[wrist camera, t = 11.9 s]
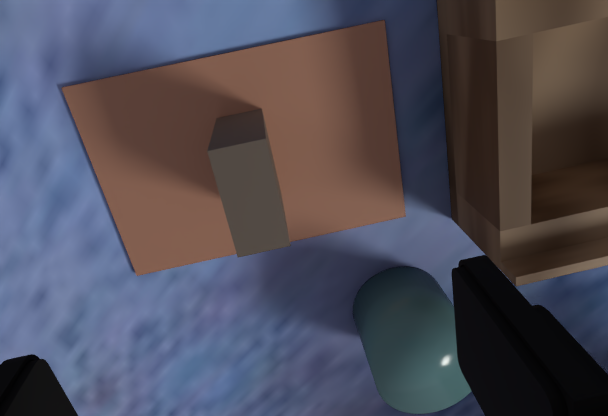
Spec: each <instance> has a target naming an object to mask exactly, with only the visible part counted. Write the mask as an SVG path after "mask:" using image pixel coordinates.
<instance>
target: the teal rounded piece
mask: <svg viewBox="0 0 608 416" xmlns="http://www.w3.org/2000/svg"><path fill="white" fill-rule="evenodd" d="M353 317H354V321H355V324H356V327H357V330H358V333H359V336H360V339H361V342H362V345H363V348H364V351H365V354H366V357H367V360H368V363H369V366H370V369H371V372H372V375H373V378H374V381H375V384H376V387H377V390H378V392H379V394H380V396H381V397H382V399H383V400H384V401H385V402H386V403H387V404H388V405H390V406H391V407H393V408H395V409H397V410H399V411H402V412H406V413H412V414H425V413H432V412H437V411H440V410H443V409H446V408H448V407H450V406H452V405H454V404H456V403H457V402H459V401H461V400H462V399H463V398H465V397H466V396H467V395H468V394H469V393H470V392H471V391H472V390H471V389H470V387H469V385H468V383H467V381H466V379H465V378H464V376H463V374H462V372H461V369H460V366H459V363H458V358H457V344H456V330H455V315H454V306H453V304H452V303H451V301H450V300H449V299H448V297H447V296H446V294H445V293H444V291H443V290H442V288H441V287H440V285H439V284H438V282H437V281H436V280H435V279H434V278H433V277H432V276H431V275H430V274H429V273H427V272H425V271H423V270H421V269H418V268H413V267H396V268H391V269H387V270H385V271H382V272H380V273H378V274H376V275H375V276H373V277H372V278H370V279H369V280H368V281H367V282H366V283H365V284H364V285H363V286H362V287H361V289H360V290H359V292H358V294H357V295H356V298H355V300H354V304H353Z"/></svg>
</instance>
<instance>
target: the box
mask: <svg viewBox="0 0 608 416" xmlns="http://www.w3.org/2000/svg"><path fill="white" fill-rule="evenodd" d="M437 11H438V25H439V40H440V54H441V69H442V83H443V98H444V113H445V127H446V142H447V156H448V171H449V185H450V200H451V215H452V220H453V221H454V222H455V223H456V224H457V225H458V226H459V227H460V228H461V229H462V230H463V231H464V232H465V233H466V234H467V235H468V236H469V238H470V239H471V240H472V241H473V242H474V243H475V244H476V245H477V246H478V247H479V248H480V249H481V250H482V251H483V252H484V253H485V254H486V255H487V256H488V257H489V258H490V260H491V261H492V262H493V263H494V264H495V265H496V266H497V267H498V268H499V269H500V270H501V271H502V272H503V273H504V274H505V275H506V276H507V277H508V278H509V280H510V281H511V282H512V283H513V284H514V285H515V286H520V285H524V284H528V283H533V282H537V281H541V280H546V279H550V278H554V277H558V276H563V275H567V274H571V273H576V272H580V271H584V270H589V269H593V268H597V267H602V266H606V265H608V0H437Z"/></svg>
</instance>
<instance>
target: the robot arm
mask: <svg viewBox="0 0 608 416" xmlns="http://www.w3.org/2000/svg"><path fill="white" fill-rule="evenodd" d="M452 285H453V300H454V315H455V330H456V344H457V358H458V363H459V366H460V369H461V372H462V374H463V376H464V378H465V379H466V381H467V383H468V385H469V387H470V389H471V390H472V392H473V394H474V396H475V398H476V400H477V401H478V403H479V405H480V407H481V409H482V410H483V412H484V414H485V416H608V374H607V373H606V372H605V371H604V370H603V369H602V368H601V367H600V366H599V365H598V364H597V363H596V361H595V360H594V359H593V358H592V357H591V356H590V355H589V354H588V353H587V352H586V351H585V350H584V349H583V347H582V346H581V345H580V344H579V343H578V342H577V341H576V340H575V339H574V338H573V337H572V336H571V335H570V334H569V332H568V331H567V330H566V329H565V328H564V327H563V326H562V325H561V324H560V323H559V322H558V321H557V320H556V319H555V317H554V316H553V315H552V314H551V313H550V312H549V311H548V310H547V309H546V308H544V307H543V306H541V305H535V306H532V305H531V304H530V303H529V302H528V301H527V300H526V299H525V298H524V297H523V295H522V294H521V293H520V292H519V291H518V290H517V289H516V288H515V286H514V285H513V284H512V283H511V282H510V281H509V280H508V279H507V277H506V276H505V275H504V274H503V273H502V272H501V271H500V270H499V269H498V267H497V266H496V265H495V264H494V263H493V262H492V261H491V260H490V258H489V257H487V256H486V255H482V256H478V257H473V258H468V259H464V260H460V261H459V267H458V268H453V269H452ZM0 416H78V415H77V413H76V411H75V410H74V408H73V406H72V404H71V403H70V401H69V399H68V397H67V396H66V394H65V392H64V390H63V389H62V387H61V385H60V384H59V382H58V380H57V378H56V377H55V375H54V373H53V371H52V370H51V368H50V366H49V364H48V363H47V362H46V360H44V359H39V358H38V357H37V356H36V355H26V356H22V357H17V358H13V359H8V360H6V361H4V362H3V363H2V364H1V365H0Z"/></svg>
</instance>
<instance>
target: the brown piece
mask: <svg viewBox="0 0 608 416" xmlns="http://www.w3.org/2000/svg"><path fill="white" fill-rule="evenodd" d="M62 91H63V93H64V96H65V98H66V101H67V103H68V106H69V108H70V111H71V113H72V116H73V118H74V121H75V123H76V125H77V128H78V130H79V133H80V135H81V138H82V140H83V143H84V145H85V148H86V150H87V153H88V155H89V158H90V160H91V163H92V165H93V168H94V170H95V173H96V175H97V178H98V180H99V183H100V185H101V188H102V190H103V193H104V195H105V198H106V200H107V203H108V205H109V208H110V210H111V213H112V215H113V218H114V220H115V223H116V225H117V228H118V230H119V233H120V235H121V238H122V240H123V243H124V245H125V248H126V250H127V253H128V255H129V258H130V260H131V263H132V265H133V267H134V270H135V272H136V275H137V276H138V275H143V274H147V273H152V272H156V271H161V270H165V269H170V268H174V267H179V266H184V265H188V264H193V263H197V262H202V261H206V260H211V259H215V258H220V257H224V256H229V255H233V254H237V257H242V256H247V255H251V254H256V253H260V252H265V251H269V250H274V249H278V248H283V247H288V246H291V245H290V242H292V241H297V240H301V239H306V238H310V237H315V236H319V235H324V234H328V233H333V232H338V231H342V230H347V229H351V228H356V227H360V226H365V225H369V224H374V223H378V222H383V221H387V220H392V219H396V218H401V217H406V215H405V206H404V196H403V187H402V177H401V168H400V159H399V149H398V140H397V131H396V121H395V112H394V102H393V93H392V84H391V74H390V65H389V56H388V46H387V37H386V27H385V20H381V21H376V22H372V23H367V24H362V25H357V26H352V27H348V28H343V29H338V30H333V31H329V32H324V33H319V34H314V35H309V36H305V37H300V38H295V39H290V40H286V41H281V42H276V43H271V44H267V45H262V46H257V47H252V48H247V49H243V50H238V51H233V52H228V53H224V54H219V55H214V56H209V57H204V58H200V59H195V60H190V61H185V62H181V63H176V64H171V65H166V66H161V67H157V68H152V69H147V70H142V71H138V72H133V73H128V74H123V75H119V76H114V77H109V78H104V79H99V80H95V81H90V82H85V83H80V84H76V85H71V86H66V87H62Z"/></svg>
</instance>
